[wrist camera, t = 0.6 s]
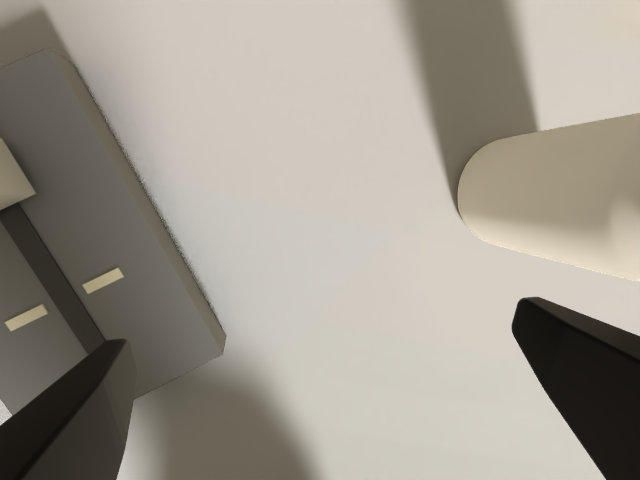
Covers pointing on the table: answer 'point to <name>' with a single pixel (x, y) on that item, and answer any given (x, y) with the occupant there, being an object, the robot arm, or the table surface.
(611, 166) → the can
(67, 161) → the console
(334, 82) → the table surface
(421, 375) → the table surface
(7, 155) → the fader knob
